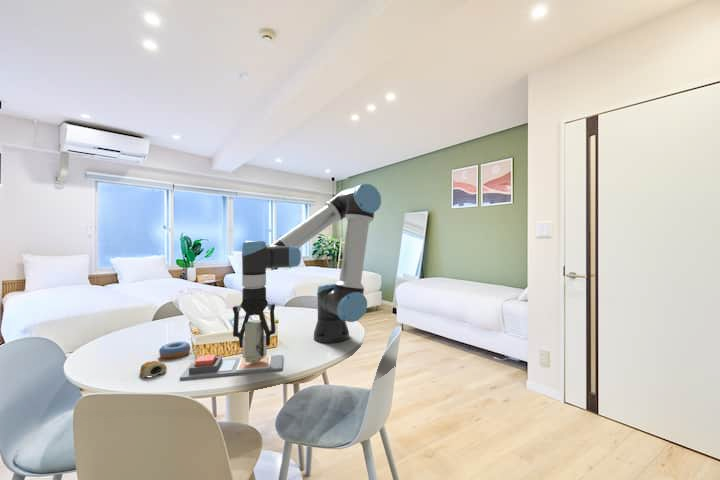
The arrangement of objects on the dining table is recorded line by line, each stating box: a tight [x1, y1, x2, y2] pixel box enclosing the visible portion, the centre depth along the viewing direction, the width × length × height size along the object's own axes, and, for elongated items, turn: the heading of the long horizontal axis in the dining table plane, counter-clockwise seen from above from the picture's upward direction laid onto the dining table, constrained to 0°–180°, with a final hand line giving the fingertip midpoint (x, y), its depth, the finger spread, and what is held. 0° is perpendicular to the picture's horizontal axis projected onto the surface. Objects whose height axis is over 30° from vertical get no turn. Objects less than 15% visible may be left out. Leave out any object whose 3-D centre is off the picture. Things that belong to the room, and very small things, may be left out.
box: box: [244, 319, 265, 363], centre depth 105 cm, size 5×4×13 cm
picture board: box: [179, 354, 284, 381], centre depth 104 cm, size 30×12×3 cm, turn 103°
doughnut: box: [158, 341, 191, 360], centre depth 116 cm, size 10×10×5 cm
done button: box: [195, 354, 217, 366], centre depth 102 cm, size 5×5×2 cm
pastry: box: [139, 360, 167, 378], centre depth 101 cm, size 9×7×4 cm
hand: (254, 355), depth 105 cm, fingers open, 6 cm apart
